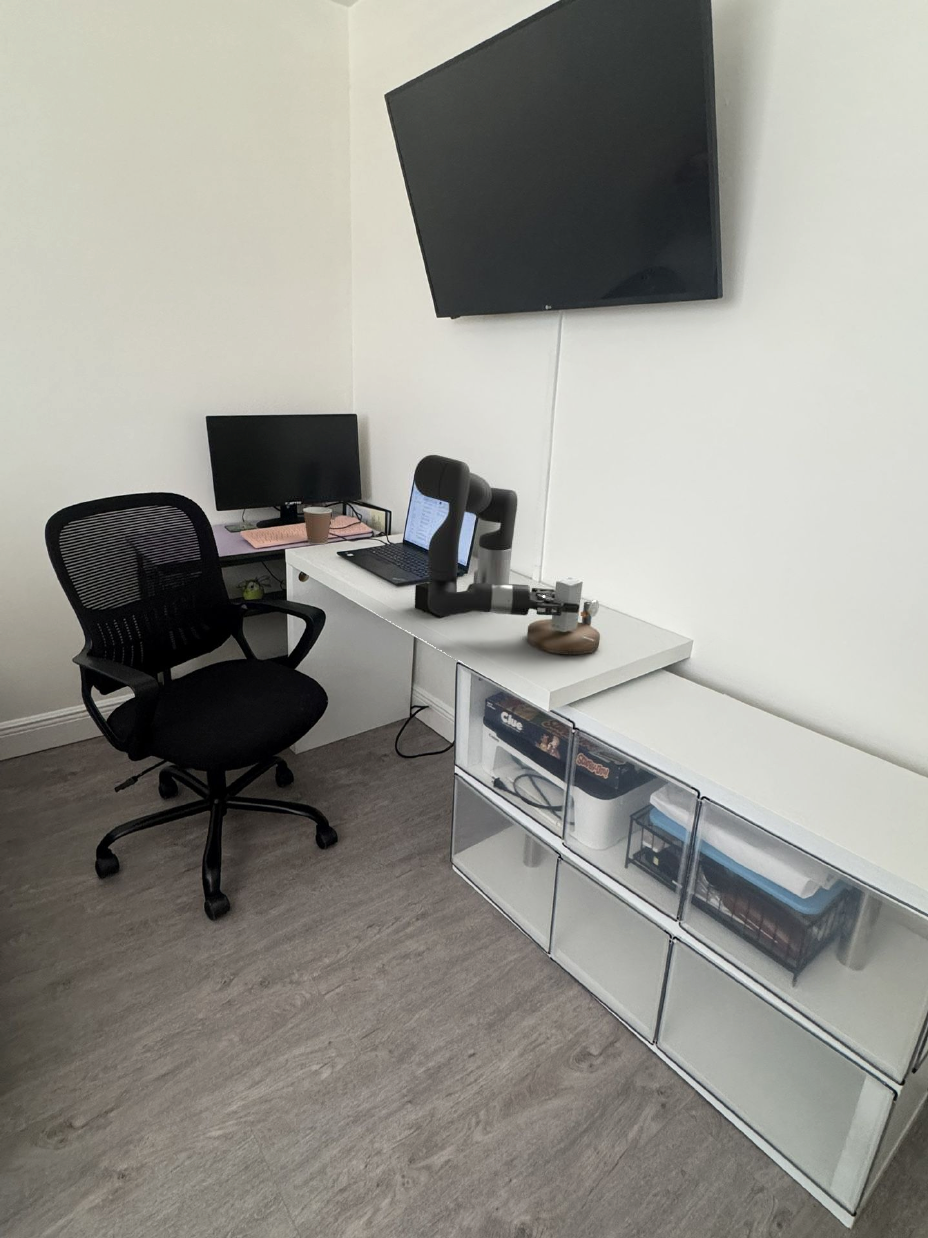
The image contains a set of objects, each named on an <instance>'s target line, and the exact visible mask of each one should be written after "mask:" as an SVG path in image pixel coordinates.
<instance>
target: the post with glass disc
mask: <svg viewBox="0 0 928 1238" xmlns="http://www.w3.org/2000/svg"><path fill="white" fill-rule="evenodd" d="M599 608H600V602H599V601H598V600H597V599H592V600H591V601H583V609H582V611H581V612H580V616H581V617H582V618H581V623H583V624H586V625H589V626H591V627H592V625H591V624H592V619H593V617H595V616H597V614H598V611H599Z"/></svg>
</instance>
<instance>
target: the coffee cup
mask: <svg viewBox="0 0 928 1238" xmlns="http://www.w3.org/2000/svg"><path fill="white" fill-rule="evenodd" d="M302 510H303V511H302V512H303V516H304V523H305V531H306V537H307V541H308V544H310V545H311V544H312V545H324V544H327V543H328V540H329V534H330V526H331V518H332V517H331V516H332V512H333V509H331V508H329V507H322V506H321V507H320V506H310V507H305V508H303V509H302Z"/></svg>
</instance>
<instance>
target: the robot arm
mask: <svg viewBox="0 0 928 1238" xmlns="http://www.w3.org/2000/svg"><path fill="white" fill-rule="evenodd" d="M413 478H414V485H415V487H416V489H417V491H418V493H419V494H420V495H422V496H424V497H426V498H430V499H434V500H438V501H439V502H445V503H447V504H448V512H447V516H446V517H445V519H444V520H443V522H442V523H441V524H440V526H439V527H438V528H437V529H436V531H434V533H433V535H432V537H431V538H430V540H429V544H428V552H427V553H428V556H427V557H428V559H427V560H428V564H427V565H428V566H427V567H428V573H429V574H428V575H429V579H428V583H429V589H428V607H429V609H430V610H431V611H432V612H434V613H435V614H438V615H442V616H448V617H451V616H457V615H460V614H467V613H470V612H476V613H477V612H478V613H479V612H480V613H492V614H498V615H512V616H527V615H528V614H529V612H530V611H529V610H535V611H536V612H535V613H536V615H538V616H552V615H554V616H561V613H563V612H568V613H578V611H579V612H580V608H579V605H578V604H577V603H562V602H558V601H556V600H555V599H554V597H555V589H554V588H553V589H551V588H541V587H540V588H537V587H530V585H528V584H515V583H510V574H511V571H510V570H511V563H512V562H511V561H512V551H513V550H512V549H513V540H514V533H515V525H516V517H517V511H518V495H517V492H516V491H515V490H512V489H507V488H506V489H505V488H499V487H497V488H496V487H491V486H490V484H489V483H488V481H487V480H485V479H484V478H483V477H481V476H479V475H478V474H476V473H473V472H471V471H470V467H469V465H468V463H466V462H464V461H461V460H458V459H454V458H450V457H447V456H442V455H438V454H429V455H426V456H424V457H423V458H422V459H420V461H419V462H418V463H417V464H416V467H415V469H414V476H413ZM465 513H468V514H473V515H475V517H477V518H478V519H480V520H481V521H484V522H490V523H497V524H500V525H499V528H498V529H497V530H494V531H489V532H485V533H483V534H481V535H480V536H479V537H478V538H479V541H478V553H477V554H478V555H477V569H476V570H475V571H474V572H473V582H472V583H469V585H468V586H467V588H466V590H461V591H458V575H457V573H458V570H459V567H458V566H459V550H460V549H459V547H460V540H461V539H460V538H461V531H462V527H463V522H464V517H465ZM555 608H557V609H555ZM450 615H451V616H450Z"/></svg>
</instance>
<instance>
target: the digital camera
mask: <svg viewBox="0 0 928 1238" xmlns="http://www.w3.org/2000/svg"><path fill="white" fill-rule="evenodd" d="M414 586H415V587H414V609H416V610H418V611H420V610H421V611H420V612H423V613H425V614H428V615H430V616H433V617H434V618H438V619H439V618H440V619H444V618H447V617H451V616H452V615H450V616H442V615H438V614H435V613H434V612H432V611H431V610H430V609H429V607H428V589H429V582H423V583H416V584H415V585H414Z"/></svg>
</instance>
